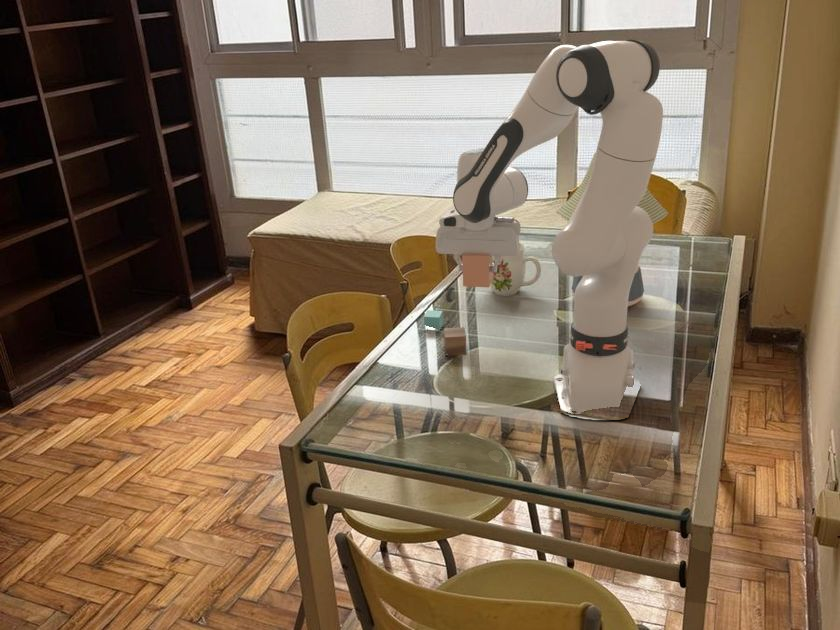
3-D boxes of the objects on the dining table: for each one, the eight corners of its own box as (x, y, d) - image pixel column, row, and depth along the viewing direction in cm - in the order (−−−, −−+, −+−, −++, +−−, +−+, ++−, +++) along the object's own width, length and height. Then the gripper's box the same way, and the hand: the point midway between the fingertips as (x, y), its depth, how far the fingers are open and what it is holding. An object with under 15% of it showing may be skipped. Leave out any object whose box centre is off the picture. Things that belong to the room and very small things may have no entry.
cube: (439, 331, 205) (439, 317, 203) (424, 330, 206) (423, 316, 204) (443, 325, 208) (442, 311, 207) (428, 324, 209) (427, 310, 208)
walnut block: (466, 354, 192) (465, 336, 190) (445, 355, 192) (444, 337, 190) (464, 345, 197) (464, 327, 195) (444, 346, 197) (443, 328, 195)
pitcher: (534, 302, 218) (535, 255, 213) (472, 295, 225) (471, 249, 220) (545, 287, 228) (546, 241, 222) (485, 281, 234) (484, 236, 229)
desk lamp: (664, 322, 203) (678, 160, 186) (551, 317, 209) (554, 160, 192) (658, 283, 226) (669, 136, 209) (556, 281, 232) (559, 137, 215)
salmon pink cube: (489, 287, 194) (488, 256, 191) (463, 286, 196) (462, 255, 192) (493, 277, 200) (492, 247, 197) (467, 276, 201) (466, 246, 198)
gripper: (522, 213, 191) (521, 267, 197) (438, 211, 196) (440, 264, 202) (518, 221, 186) (518, 277, 191) (432, 219, 191) (435, 273, 196)
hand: (477, 270), depth 197 cm, fingers closed on salmon pink cube, 6 cm apart
